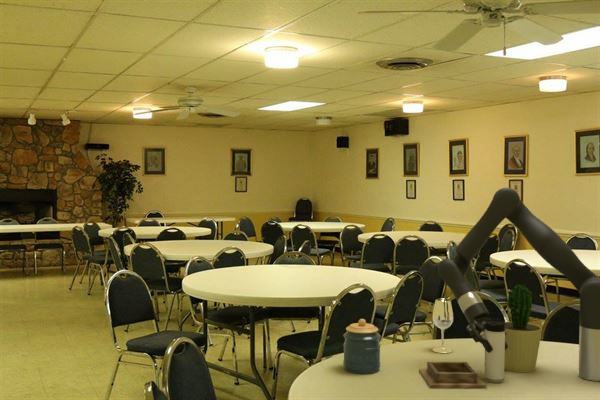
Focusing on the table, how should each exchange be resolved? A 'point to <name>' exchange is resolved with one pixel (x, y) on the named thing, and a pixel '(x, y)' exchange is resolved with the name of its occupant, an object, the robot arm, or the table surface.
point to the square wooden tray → (451, 375)
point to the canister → (361, 348)
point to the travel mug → (495, 350)
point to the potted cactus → (521, 333)
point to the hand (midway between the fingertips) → (498, 350)
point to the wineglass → (442, 320)
